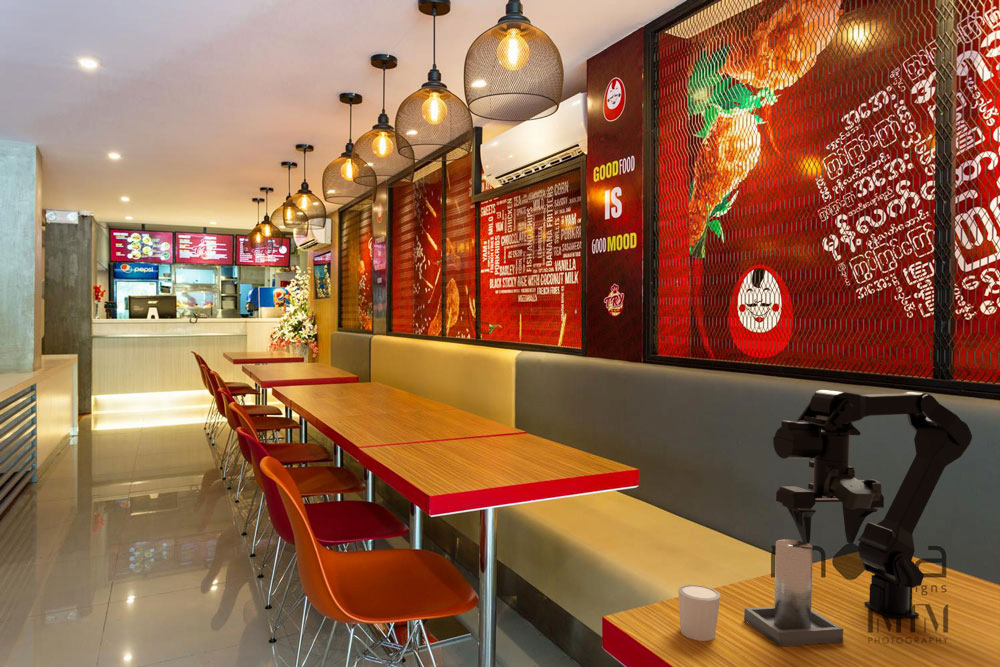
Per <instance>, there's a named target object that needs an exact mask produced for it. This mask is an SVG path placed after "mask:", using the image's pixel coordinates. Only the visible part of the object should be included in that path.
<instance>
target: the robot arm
mask: <svg viewBox="0 0 1000 667" xmlns="http://www.w3.org/2000/svg"><path fill="white" fill-rule="evenodd" d="M891 415H892V416H894V415H896V416H897V415H906V416H907V420H908V423H909V425H910V426H911V428H912V429H913V430H914V431H915V436H914V439H913V441H914V442H913V444H914V449H915V455H914V459H913V460H912V463H911V465H910V466H909V468H908V471H907V473H906V474H905V477H904V479H903V480H902V482H901V484H900V486H899V488H898V490H897V492H896V494H895V497H894V498H893V501H892V503H891V505H890V507H888V511H887V512H886V515H885V517H884V518H883V519H882V520H881V521H879V522H878V523H876V524H875V523H872V522H870V521H869V522H868V523H867V522H866V524H865V525H864V528H863V532H862V534H861V535H860V536H859V537H858V536H857V535H858V533H859V531H860V529H861V527H862V525H863V522H864V521H865V519H866V518H867V517H868V516H870V515H871V514H873V513H876V512H878V510H879V509H878V508H883V509H884V507H885V497H884V496H883V494H882V484H881V482H880V481H879V480H877V479H873V478H872V479H870V478H869V479H868V478H867V479H865V480H864V479H858V478H856V475H855V474H856V471H855V467H854V466H850V464H849V462H850V461H849V460H850V438H851V437H850V436H860V435H861V431H860V430H859V429H858V428H856V426H854V424H853V423H854V422H858V421H861V420H863V419H864V418H867V417H870V416H871V417H872V416H891ZM961 419H962V418H960V417H959V416H958V415H957V414H956V413H955V412H952V411H951V410H949V409H948V408H946V407H945V406H944V405H943V404H940V402H939V401H938V400H937V399H936V398H935V397H934V396H932V395H931V394H929V393H928V392H927V393H926V392H916V391H907V392H904V393H903V392H902V393H901V392H898V393H897V392H896V393H877V394H876V393H874V394H871V393H870V394H859V393H852V392H851V393H850V392H847V391H845V392H844V391H837V390H830V389H829V390H827V389H819V390H816V391H815V392H814V393H813V395H812V397H811V400H810V402H809V403H808V405H806V407H805V409H804V410H803V412H802V413H801V415H800V416H799V417H798V419H797V420H796V421H792V420H781V426H780V427H779V428H777V430H776V432H775V435H774V436H773V440H772V442H773V443H772V444H773V448H774V451H775V453H776V455H777V456H778V457H780V458H781V459H783V460H784V459H785V460H786V459H787V460H789V459H790V460H792V459H793V460H795V459H797V460H799V459H800V460H801V459H803V460H804V459H805V460H807V459H809V461H808V467H809V468H812V469H813V472H812V473H813V474H812V475H813V477H812V478H813V479H812V480H813V481H812V482H808V483H807V484H808V485H807V489H805V488H802V487H799V486H796V485H793V486H786V485H785V486H784V485H783V486H779V487H778V488H777V490H776V492H775V494H776V495H775V499H776V500H775V501H776V502H779V504H781V506H783V507H785V508H786V509H787V510H788V512H789V514H790V516H791V517H792V520H793V522H794V524H795V526H796V529H797V531H798V534H799V536H800V539H801V541H802V542H805V543H808V544H810V543H811V542H810V541H811V531H812V517H813V516H814V514H815V513H816V512H817V510H816V509H814V506H815V505H816V503H841V504H842V506H841V507H842V514H843V515H842V516H843V525H844V533H845V538H846V543H848V544H850V545H852V544H854V542H855V540H856V538H857V537H858V538H857V541H859V543H858V545H857V552H858V555H859V558H860V560H861V561H862V566H863V569H864V571H866V572H868V573H871V574H872V575H871V579H870V580H871V583H870V584H869V598H868V599H869V600H868V601H864V602H863V604H864V606H866V607H869V608H870V609H872V610H874V611H875V612H878V613H879V614H881V615H882V616H884V617H885V616H886V618H889V619H902V618H904V619H905V618H917V617H919V616H920V614H919V612H917V611H914V610H913V588H914V589H915V587H918V586H919V587H921V585H922V583H923V580H924V578H925V575H924V573H923V572H922V571H921V569H919V567H918V566H917V565H916V564H915V563H914V561H913V557H914V555H915V544H914V543H915V542H914V536H913V535H914V531H915V529H916V527H917V524H918V523H919V521H920V518H921V517H922V515H923V514H924V511H925V508H926V507H927V506H928V503H929V500H930V498H931V497H932V494H933V492H934V490H935V488H936V486H937V484H938V482H939V480H940V479H941V475H942V474H943V472H944V470H945V468H946V467H947V466H949V465H950V464H952V463H953V462H954V461H956V460H958V459H959V458H961V457H962V456H963V455H964V453H965V452H966V450H967V449H968V447H969V445H970V444H971V442H972V439H973V434H972V431H971V430H970V427H969V425H968V424H967V423H966V421H963V420H961ZM812 459H813V461H812ZM810 460H811V461H810ZM808 489H809V490H808Z"/></svg>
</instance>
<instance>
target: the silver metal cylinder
mask: <svg viewBox="0 0 1000 667" xmlns="http://www.w3.org/2000/svg"><path fill="white" fill-rule="evenodd" d="M813 554H814V547H813V545H812V544H810V543H809V544H808V543H805V542H803V541H802V540H801V541H800V540H796V539H785V538H783V539H778V540H776V541H775V559H774V560H775V566H774V568H775V569H774V605H773V607H774V624H775V626H777V627H778V628H780V629H782V630H795V629H811V609H812V601H813V600H812V599H813V597H812V596H813V591H812V590H813V558H814V556H813Z"/></svg>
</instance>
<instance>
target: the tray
mask: <svg viewBox="0 0 1000 667" xmlns="http://www.w3.org/2000/svg"><path fill="white" fill-rule="evenodd" d="M743 618H744V620H745V621H744V622H746V623H747V622H748V623H749V624H748V623H747V624H748V625H749V626H751V625H752V626H753V627H752V626H751V627H752V628H754V629H755V630H756V629H757V630H756V631H758V632H759V633H760V634H762V636H764V637H765V638H766V639H768V640H770V641H771V642H772V643H774V644H775V645H776V646H778V647H788V646H791V645H793V646H806V645H805V644H807V645H818V643H822V644H833V643H834V644H835V643H836V642H837V643H844V628H842V627H841V626H839V625H838V624H837V623H834V622H833V621H831V620H830V619H828V618H826V617H825V616H823V615H821V614H820V613H818V612H816V611H815V610H813V609H812V608H811V629H795V630H782V629H780V628H778V627H777V626H775V624H774V606H757V607H755V606H754V607H744V616H743ZM837 643H836V644H837ZM802 644H803V645H802Z"/></svg>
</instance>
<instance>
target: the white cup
mask: <svg viewBox="0 0 1000 667" xmlns="http://www.w3.org/2000/svg"><path fill="white" fill-rule="evenodd" d="M677 591H678V593H677V594H678V609H679V611H678V612H679V627H680V633H681V634H682V635H683V636H685V637H686V638H688V639H691V640H695V641H698V642H699V641H700V642H708V641H712V640H714V639H715V638H716V633H717V632H716V631H717V626H718V625H717V623H718V618H719V609H720V603H721V602H720V601H721V593H720V592H719V591H717V590H715V589H714V588H712V587H708V586H705V585H699V584H686V585H685V584H684V585H681V586H679V588H678V590H677Z"/></svg>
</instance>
